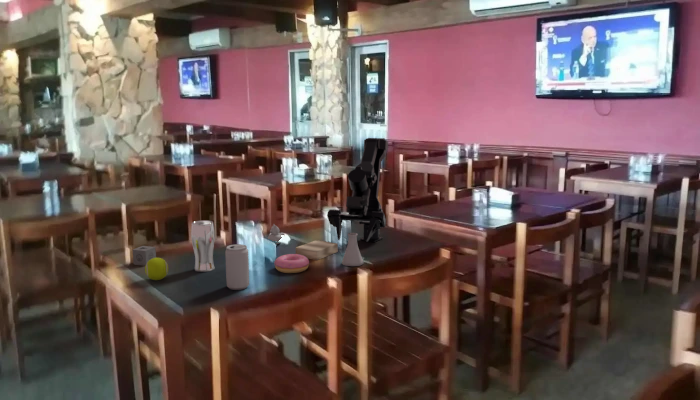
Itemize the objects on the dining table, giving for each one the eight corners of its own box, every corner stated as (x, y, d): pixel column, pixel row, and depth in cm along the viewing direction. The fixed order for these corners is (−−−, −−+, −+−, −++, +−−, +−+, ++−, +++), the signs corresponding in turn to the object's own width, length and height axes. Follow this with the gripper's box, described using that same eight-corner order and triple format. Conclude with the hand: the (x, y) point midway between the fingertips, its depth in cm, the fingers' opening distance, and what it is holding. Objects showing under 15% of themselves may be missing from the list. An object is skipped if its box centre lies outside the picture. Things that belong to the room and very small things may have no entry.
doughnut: (316, 269, 186) (316, 257, 185) (287, 277, 179) (287, 263, 178) (295, 262, 194) (295, 250, 193) (267, 269, 187) (267, 256, 186)
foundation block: (316, 248, 210) (316, 240, 210) (337, 251, 206) (337, 243, 205) (295, 256, 200) (295, 247, 200) (317, 260, 196) (317, 251, 195)
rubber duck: (264, 243, 217) (264, 222, 215) (280, 241, 221) (280, 220, 219) (272, 247, 212) (271, 225, 211) (288, 244, 216) (287, 222, 215)
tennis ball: (145, 277, 178) (143, 256, 177) (168, 275, 180) (167, 254, 179) (145, 284, 172) (144, 262, 171) (170, 281, 174) (168, 259, 173)
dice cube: (143, 260, 196) (142, 245, 196) (156, 261, 195) (155, 247, 194) (133, 264, 192) (132, 249, 191) (146, 266, 190) (145, 250, 189)
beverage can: (228, 283, 172) (226, 243, 170) (250, 283, 173) (248, 243, 170) (225, 291, 166) (223, 249, 164) (248, 290, 166) (247, 249, 164)
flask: (364, 260, 195) (364, 231, 193) (362, 267, 188) (363, 236, 186) (342, 260, 196) (342, 230, 194) (340, 266, 188) (340, 236, 187)
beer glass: (220, 267, 188) (218, 221, 186) (208, 273, 182) (205, 225, 179) (201, 265, 191) (198, 219, 188) (188, 271, 184) (186, 224, 182)
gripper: (328, 185, 194) (319, 225, 186) (384, 187, 190) (377, 228, 181) (334, 204, 203) (326, 243, 195) (388, 206, 199) (382, 246, 190)
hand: (352, 240), depth 190 cm, fingers open, 9 cm apart
